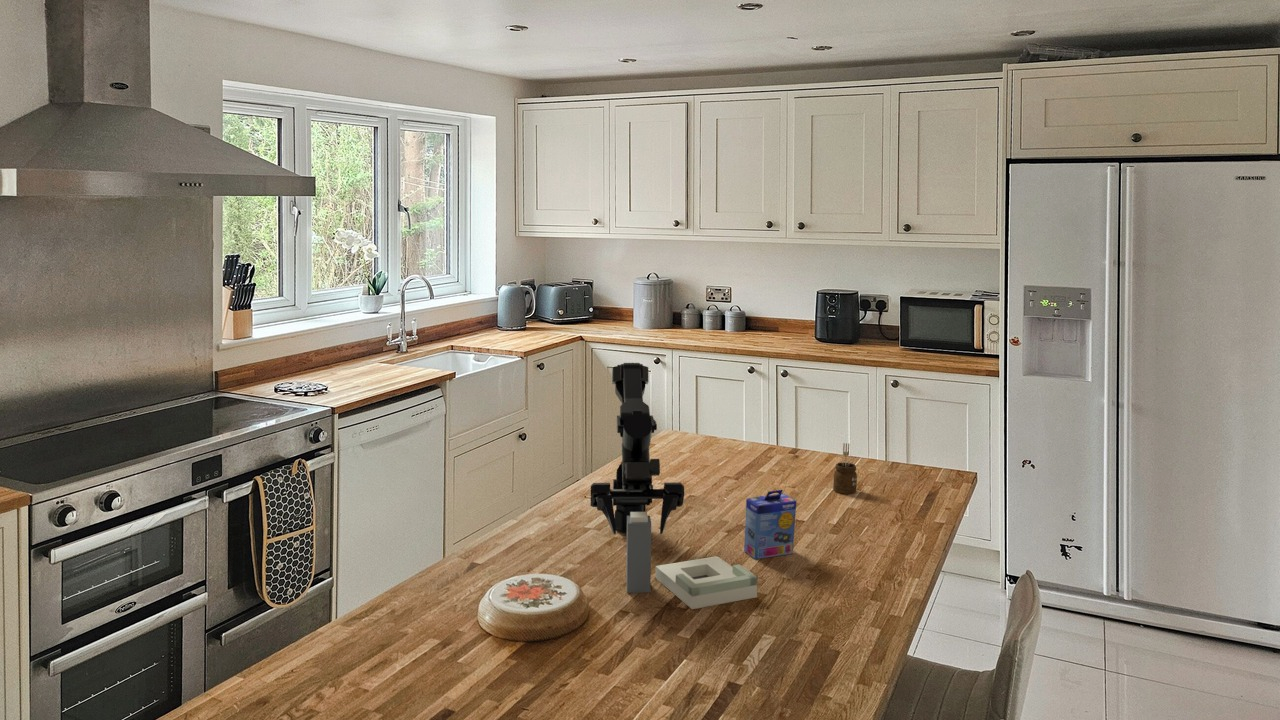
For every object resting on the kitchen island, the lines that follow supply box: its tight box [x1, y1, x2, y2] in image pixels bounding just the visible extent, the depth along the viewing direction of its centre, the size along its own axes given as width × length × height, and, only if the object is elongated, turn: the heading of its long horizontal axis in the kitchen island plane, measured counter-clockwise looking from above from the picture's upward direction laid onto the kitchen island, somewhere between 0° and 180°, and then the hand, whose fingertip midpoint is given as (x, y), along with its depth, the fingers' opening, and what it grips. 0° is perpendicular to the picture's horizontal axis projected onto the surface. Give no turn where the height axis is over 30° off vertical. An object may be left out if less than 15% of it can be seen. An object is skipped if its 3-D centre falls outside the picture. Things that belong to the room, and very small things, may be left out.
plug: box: [625, 511, 652, 594], centre depth 189 cm, size 4×4×15 cm
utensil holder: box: [833, 442, 858, 495], centre depth 252 cm, size 6×6×12 cm
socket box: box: [655, 555, 759, 610], centre depth 190 cm, size 16×14×4 cm
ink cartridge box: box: [743, 489, 797, 560], centre depth 208 cm, size 10×6×14 cm, turn 114°
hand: (638, 533), depth 191 cm, fingers open, 9 cm apart
